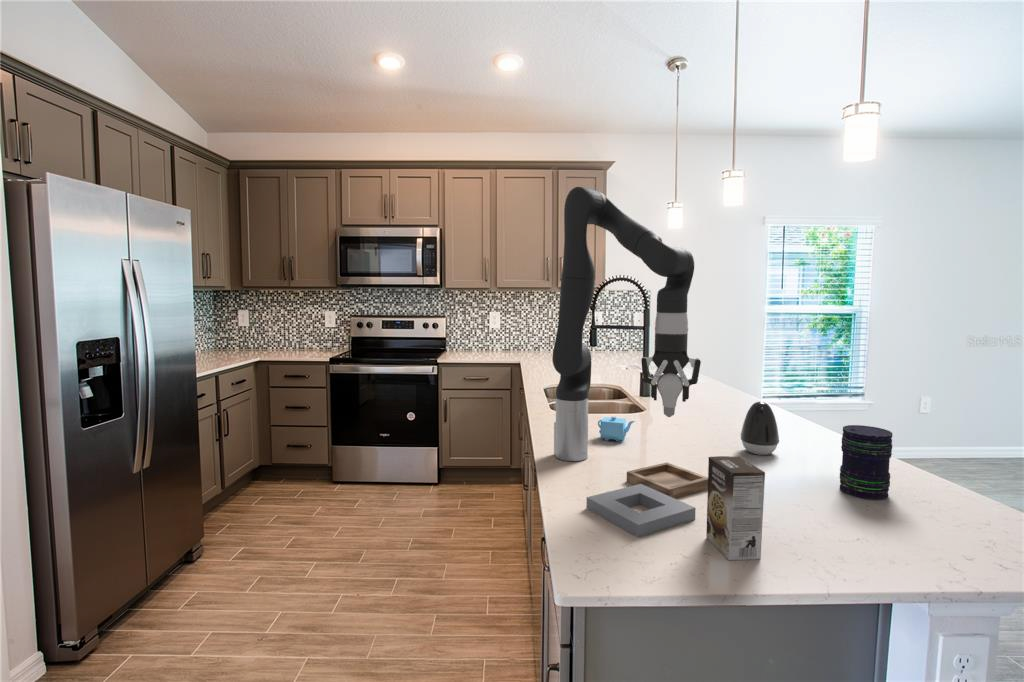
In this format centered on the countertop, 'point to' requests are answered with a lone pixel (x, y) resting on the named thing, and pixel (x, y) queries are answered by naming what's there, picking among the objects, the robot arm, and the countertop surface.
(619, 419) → the teapot
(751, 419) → the black egg-shaped device
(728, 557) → the coffee box
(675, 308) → the robot arm
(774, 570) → the countertop surface
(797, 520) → the countertop surface
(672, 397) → the lightbulb
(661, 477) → the tray
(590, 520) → the countertop surface
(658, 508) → the socket block
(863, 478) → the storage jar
